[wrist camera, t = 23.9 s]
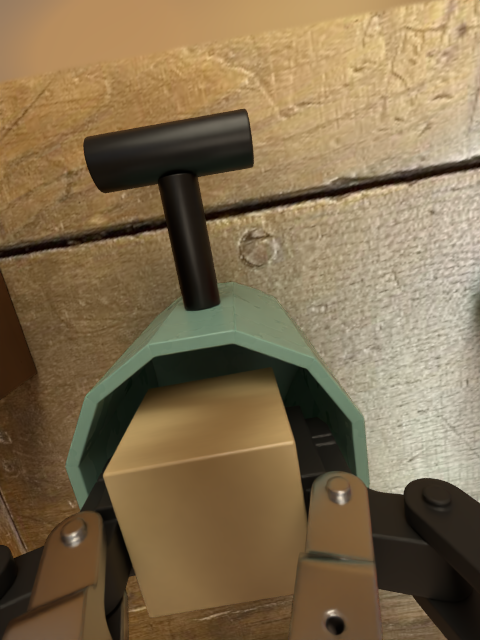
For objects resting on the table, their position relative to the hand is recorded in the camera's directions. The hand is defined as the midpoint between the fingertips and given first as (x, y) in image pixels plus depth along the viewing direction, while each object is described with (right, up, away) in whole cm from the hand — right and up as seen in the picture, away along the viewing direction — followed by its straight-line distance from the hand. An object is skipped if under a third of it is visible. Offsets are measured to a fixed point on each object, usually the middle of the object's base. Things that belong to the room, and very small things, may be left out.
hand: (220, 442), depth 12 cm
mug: (-1, +5, +7) cm, 9 cm away
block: (0, 0, +1) cm, 1 cm away
